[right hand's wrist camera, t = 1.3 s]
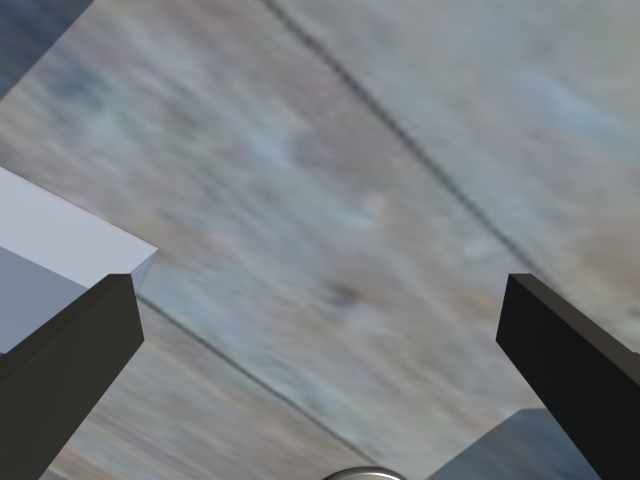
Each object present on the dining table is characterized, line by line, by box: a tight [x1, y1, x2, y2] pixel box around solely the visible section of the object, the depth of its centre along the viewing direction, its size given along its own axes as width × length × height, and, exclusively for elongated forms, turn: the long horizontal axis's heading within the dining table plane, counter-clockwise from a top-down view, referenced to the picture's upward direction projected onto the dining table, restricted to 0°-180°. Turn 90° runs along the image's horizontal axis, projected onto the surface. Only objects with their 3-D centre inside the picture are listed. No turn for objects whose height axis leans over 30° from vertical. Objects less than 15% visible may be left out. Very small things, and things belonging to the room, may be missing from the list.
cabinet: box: [0, 167, 158, 354], centre depth 34 cm, size 20×10×10 cm, turn 59°
